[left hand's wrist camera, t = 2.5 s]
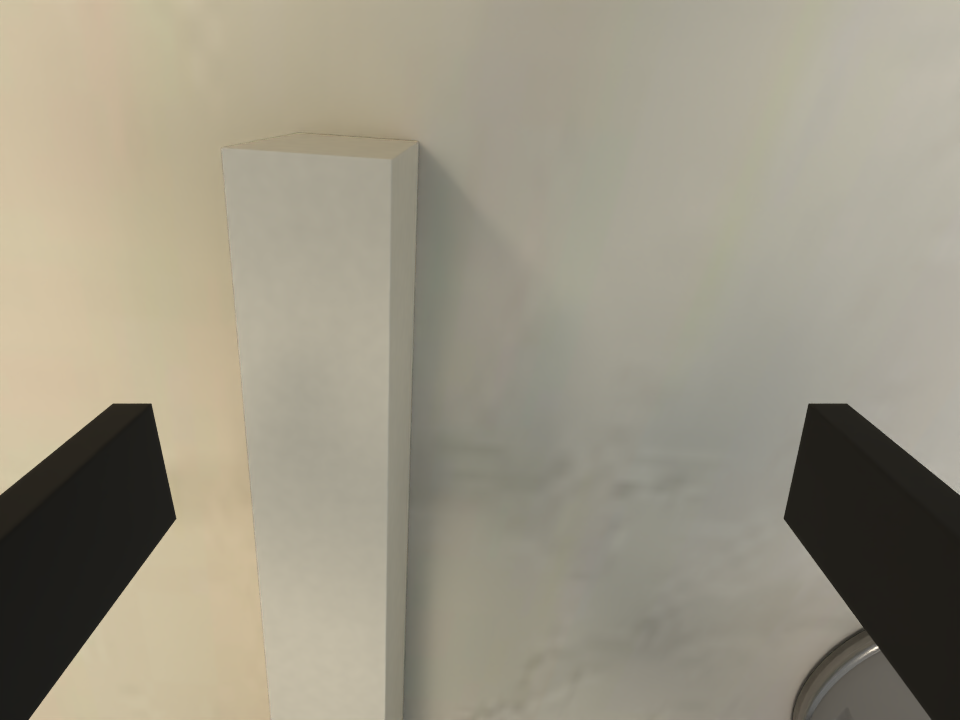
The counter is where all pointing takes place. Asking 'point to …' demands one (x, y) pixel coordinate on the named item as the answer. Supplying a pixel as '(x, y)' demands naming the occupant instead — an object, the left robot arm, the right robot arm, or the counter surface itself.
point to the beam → (327, 409)
